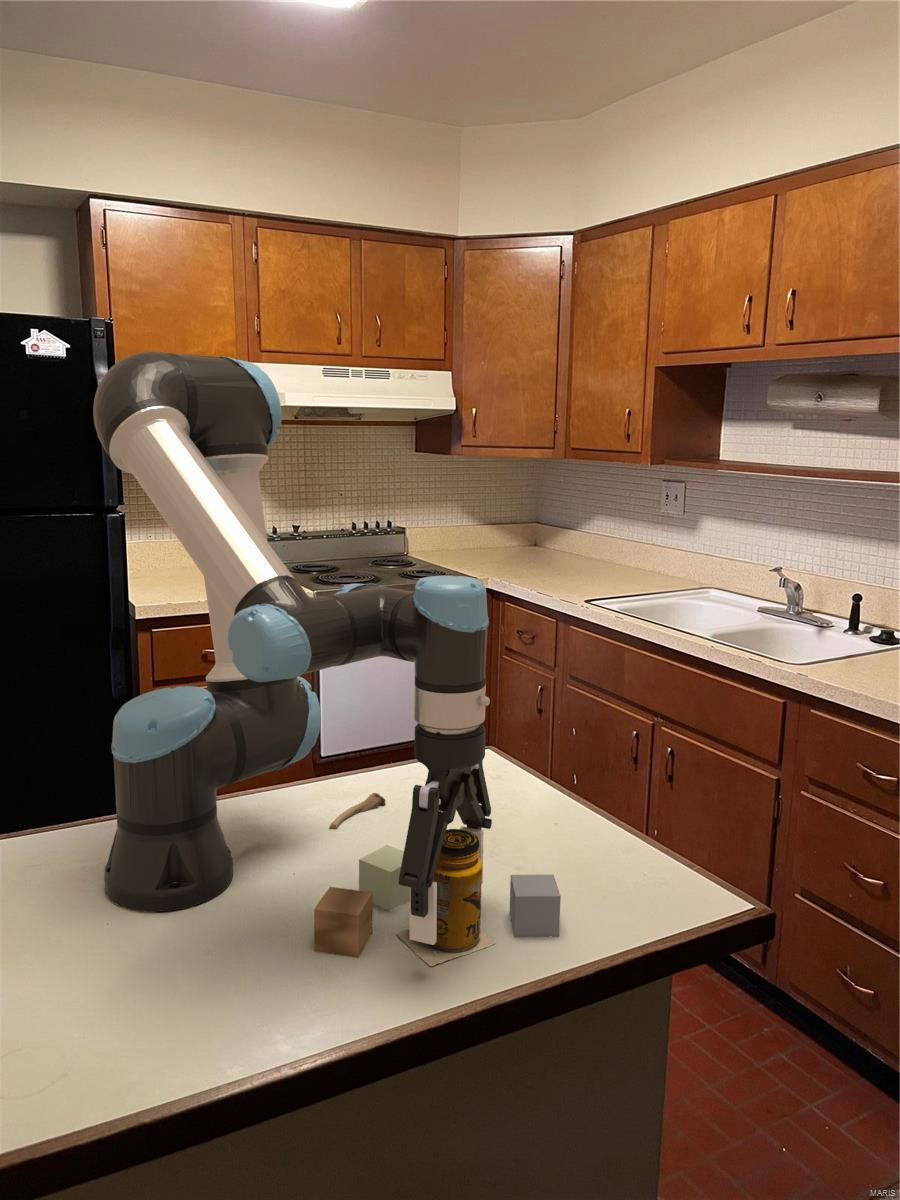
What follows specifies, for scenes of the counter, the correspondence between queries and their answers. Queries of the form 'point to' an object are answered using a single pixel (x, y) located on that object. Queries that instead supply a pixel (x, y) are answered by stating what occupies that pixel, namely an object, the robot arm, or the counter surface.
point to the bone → (359, 809)
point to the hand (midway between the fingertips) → (448, 909)
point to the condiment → (455, 901)
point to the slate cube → (534, 906)
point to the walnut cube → (343, 922)
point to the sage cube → (383, 877)
